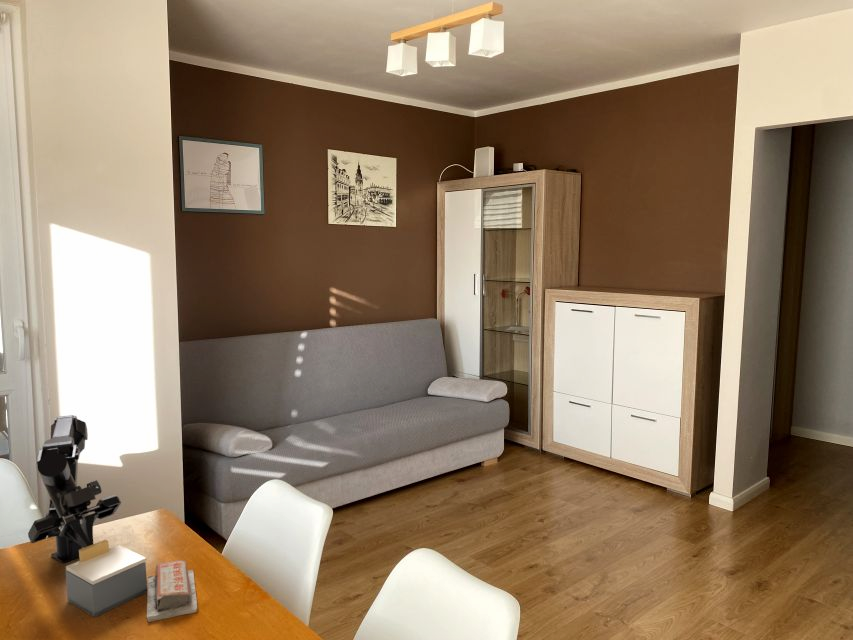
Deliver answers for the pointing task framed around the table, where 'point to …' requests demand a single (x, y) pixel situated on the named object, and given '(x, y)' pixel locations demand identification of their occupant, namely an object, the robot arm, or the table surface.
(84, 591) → the storage box
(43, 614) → the table surface
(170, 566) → the packaged product
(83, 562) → the lid
